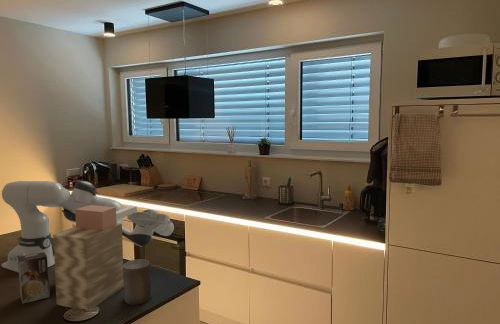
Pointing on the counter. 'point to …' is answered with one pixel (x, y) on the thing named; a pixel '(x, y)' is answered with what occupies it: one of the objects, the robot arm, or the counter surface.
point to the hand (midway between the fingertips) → (140, 212)
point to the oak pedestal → (88, 266)
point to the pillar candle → (137, 281)
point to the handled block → (100, 216)
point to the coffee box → (33, 277)
